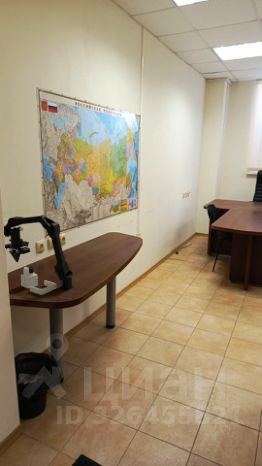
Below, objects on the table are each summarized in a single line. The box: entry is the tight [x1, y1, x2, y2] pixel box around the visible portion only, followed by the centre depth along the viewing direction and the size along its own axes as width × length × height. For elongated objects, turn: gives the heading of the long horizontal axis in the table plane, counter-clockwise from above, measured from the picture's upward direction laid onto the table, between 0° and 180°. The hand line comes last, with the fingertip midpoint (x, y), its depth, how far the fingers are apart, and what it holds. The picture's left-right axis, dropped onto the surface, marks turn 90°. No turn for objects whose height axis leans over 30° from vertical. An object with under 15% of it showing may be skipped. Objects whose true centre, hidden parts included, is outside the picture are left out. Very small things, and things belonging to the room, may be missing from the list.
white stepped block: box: [20, 265, 39, 290], centre depth 189 cm, size 7×7×12 cm
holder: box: [29, 279, 57, 296], centre depth 184 cm, size 9×12×3 cm
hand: (17, 262), depth 193 cm, fingers closed
